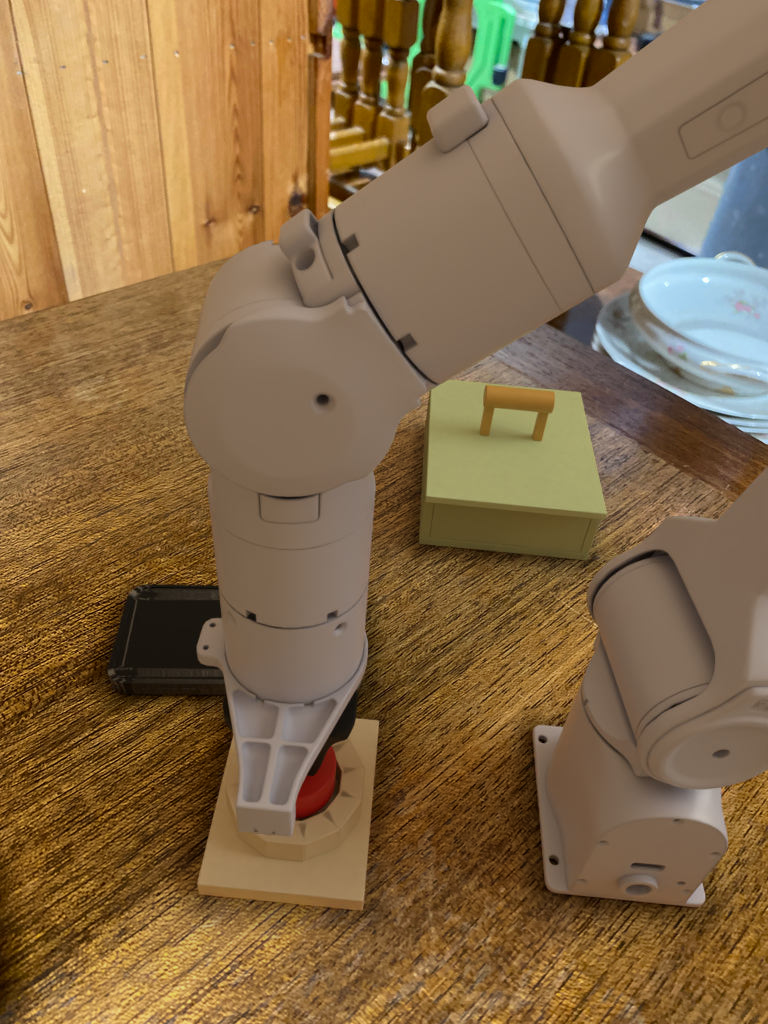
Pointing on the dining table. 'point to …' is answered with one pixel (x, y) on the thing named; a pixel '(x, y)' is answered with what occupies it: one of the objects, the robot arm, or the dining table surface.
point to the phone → (165, 642)
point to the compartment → (502, 527)
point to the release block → (299, 838)
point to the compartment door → (511, 450)
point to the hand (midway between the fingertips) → (296, 761)
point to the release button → (317, 787)
